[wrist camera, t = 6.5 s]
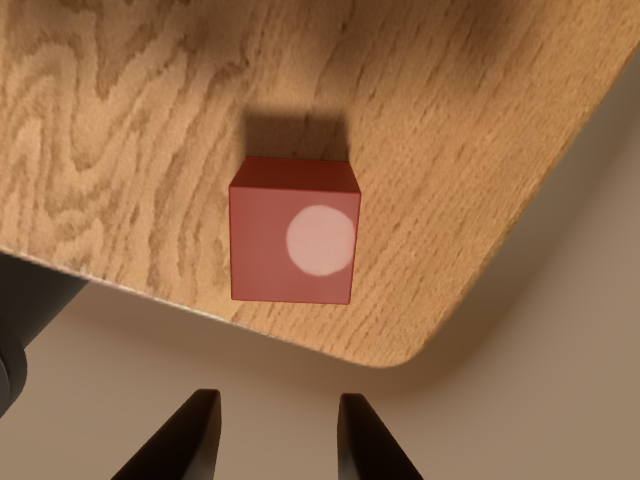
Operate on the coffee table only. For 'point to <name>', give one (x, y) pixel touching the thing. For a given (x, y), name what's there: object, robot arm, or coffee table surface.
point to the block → (293, 230)
